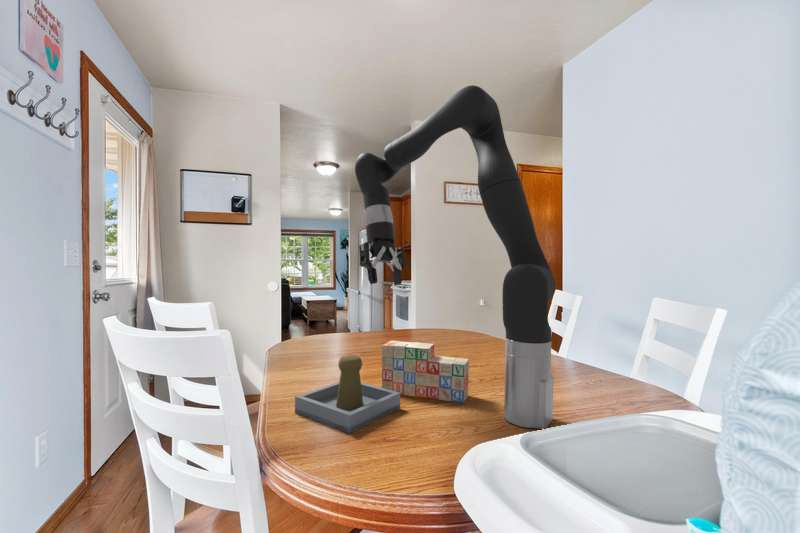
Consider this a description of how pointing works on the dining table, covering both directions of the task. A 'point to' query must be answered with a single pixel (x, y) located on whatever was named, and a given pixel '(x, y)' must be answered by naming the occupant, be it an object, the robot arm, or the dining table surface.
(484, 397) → the dining table surface
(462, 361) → the stack of blocks
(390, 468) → the dining table surface
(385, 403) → the tray
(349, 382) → the cork
